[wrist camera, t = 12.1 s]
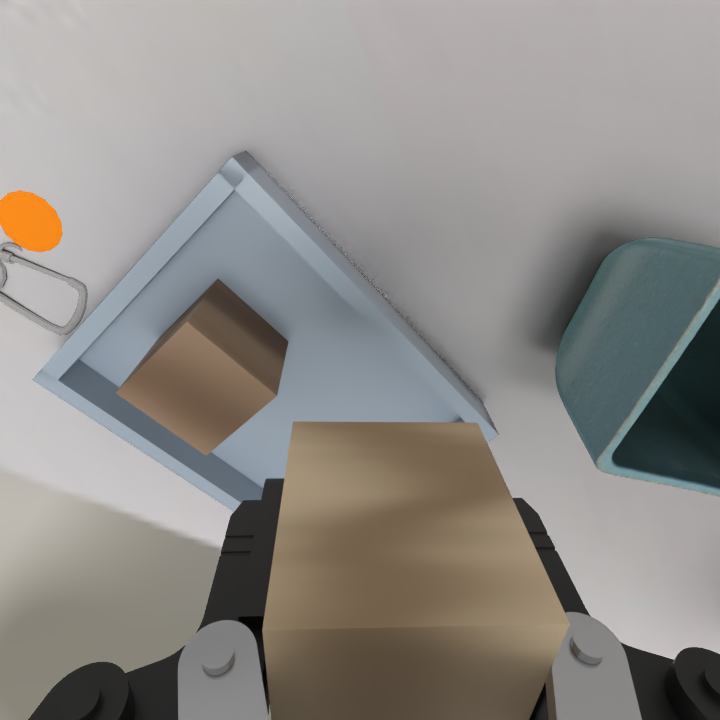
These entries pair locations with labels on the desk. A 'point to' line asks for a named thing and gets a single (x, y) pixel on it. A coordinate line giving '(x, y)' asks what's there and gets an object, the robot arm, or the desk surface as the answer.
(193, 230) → the tray
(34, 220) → the key chain
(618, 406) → the flower pot
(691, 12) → the desk surface
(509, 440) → the desk surface
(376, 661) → the oak block
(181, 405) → the walnut block
